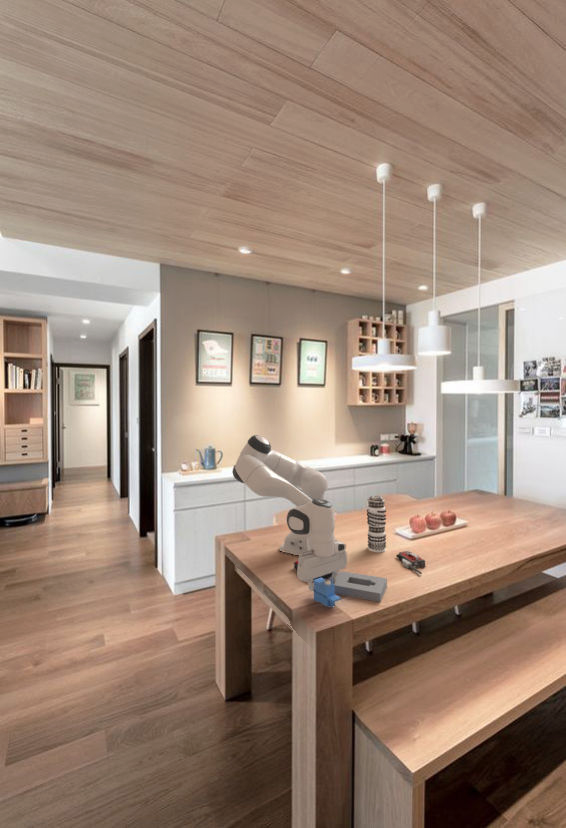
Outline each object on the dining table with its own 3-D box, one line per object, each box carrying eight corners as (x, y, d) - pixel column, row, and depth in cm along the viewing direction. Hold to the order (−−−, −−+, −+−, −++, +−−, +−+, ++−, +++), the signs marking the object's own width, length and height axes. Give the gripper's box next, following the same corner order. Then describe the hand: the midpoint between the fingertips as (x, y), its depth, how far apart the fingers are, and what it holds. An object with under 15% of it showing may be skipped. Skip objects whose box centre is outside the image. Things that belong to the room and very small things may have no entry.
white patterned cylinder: (387, 546, 189) (386, 495, 189) (386, 553, 180) (386, 499, 180) (367, 545, 192) (367, 494, 191) (366, 551, 183) (365, 498, 182)
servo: (308, 596, 140) (308, 574, 140) (315, 593, 142) (315, 571, 142) (333, 611, 130) (332, 587, 130) (340, 608, 132) (340, 584, 132)
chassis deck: (330, 592, 143) (330, 584, 143) (340, 578, 155) (340, 570, 155) (380, 602, 135) (380, 593, 135) (387, 586, 147) (386, 578, 147)
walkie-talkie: (392, 558, 175) (418, 577, 155) (391, 549, 175) (418, 566, 155) (409, 556, 177) (437, 574, 158) (409, 546, 177) (437, 563, 158)
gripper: (304, 556, 127) (305, 598, 127) (349, 543, 139) (350, 582, 139) (292, 551, 132) (293, 591, 133) (337, 538, 144) (337, 576, 144)
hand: (322, 586), depth 136 cm, fingers open, 8 cm apart
